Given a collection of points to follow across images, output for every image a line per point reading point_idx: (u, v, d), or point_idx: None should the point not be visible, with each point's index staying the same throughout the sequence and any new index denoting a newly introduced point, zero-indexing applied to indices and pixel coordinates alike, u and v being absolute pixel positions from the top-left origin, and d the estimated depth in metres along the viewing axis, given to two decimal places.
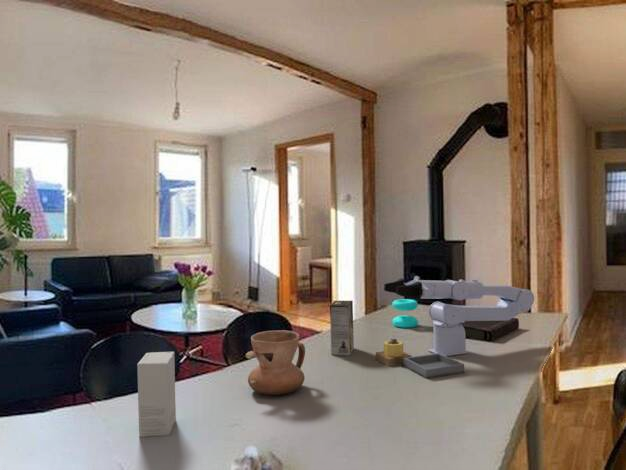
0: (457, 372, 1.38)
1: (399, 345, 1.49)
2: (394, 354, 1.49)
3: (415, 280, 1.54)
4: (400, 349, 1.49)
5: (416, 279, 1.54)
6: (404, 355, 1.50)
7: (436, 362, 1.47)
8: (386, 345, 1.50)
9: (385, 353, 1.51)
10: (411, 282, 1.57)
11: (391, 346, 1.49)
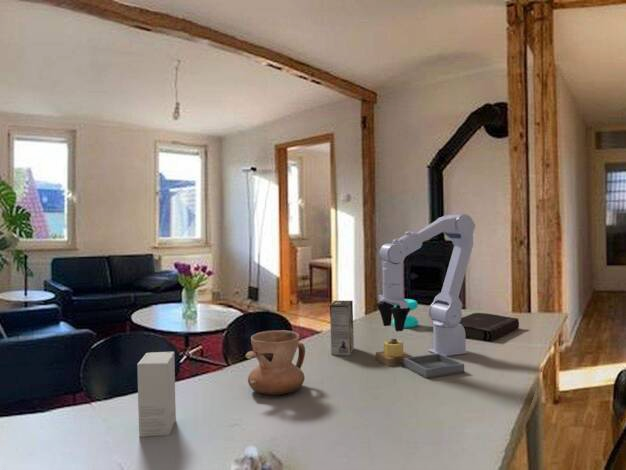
0: (457, 372, 1.38)
1: (399, 345, 1.49)
2: (394, 354, 1.49)
3: None
4: (400, 349, 1.49)
5: None
6: (404, 355, 1.50)
7: (436, 362, 1.47)
8: (386, 345, 1.50)
9: (385, 353, 1.51)
10: None
11: (391, 346, 1.49)
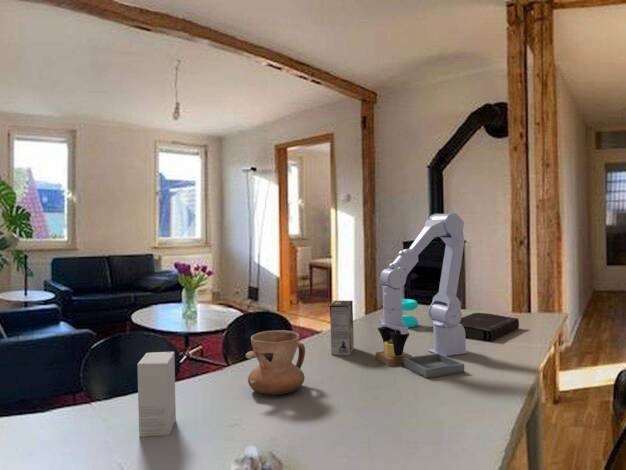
0: (457, 372, 1.38)
1: None
2: (394, 354, 1.49)
3: None
4: None
5: None
6: (404, 355, 1.50)
7: (436, 362, 1.47)
8: (386, 345, 1.50)
9: (385, 353, 1.51)
10: None
11: (391, 346, 1.49)
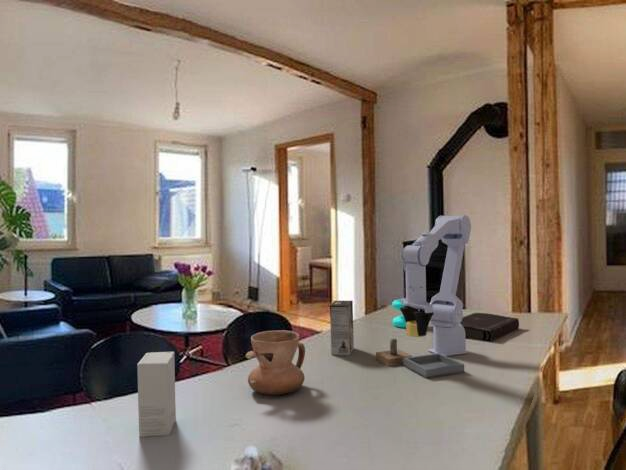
0: (457, 372, 1.38)
1: None
2: (417, 334, 1.43)
3: None
4: None
5: None
6: (404, 355, 1.50)
7: (436, 362, 1.47)
8: (409, 325, 1.44)
9: (407, 334, 1.45)
10: None
11: (414, 326, 1.43)
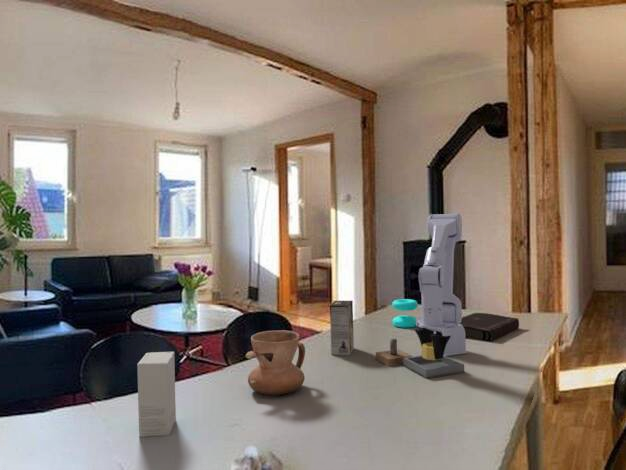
0: (457, 372, 1.38)
1: None
2: (434, 357, 1.39)
3: None
4: None
5: (423, 327, 1.40)
6: (404, 355, 1.50)
7: (436, 362, 1.47)
8: (425, 348, 1.41)
9: (423, 356, 1.41)
10: None
11: (430, 349, 1.39)
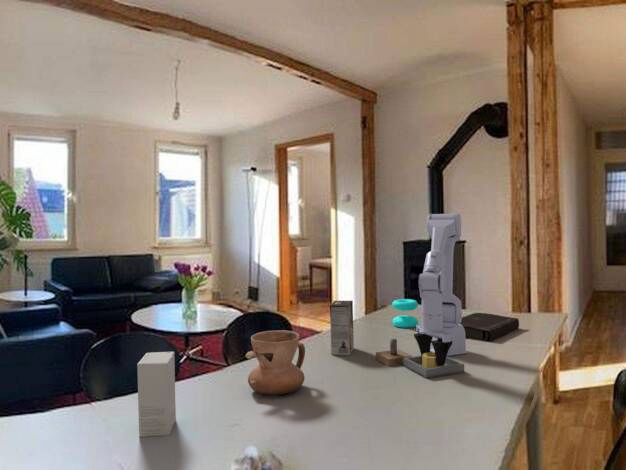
0: (457, 372, 1.38)
1: None
2: (434, 367, 1.39)
3: None
4: None
5: (423, 333, 1.40)
6: (404, 355, 1.50)
7: None
8: (425, 358, 1.41)
9: (423, 366, 1.42)
10: None
11: (431, 359, 1.40)
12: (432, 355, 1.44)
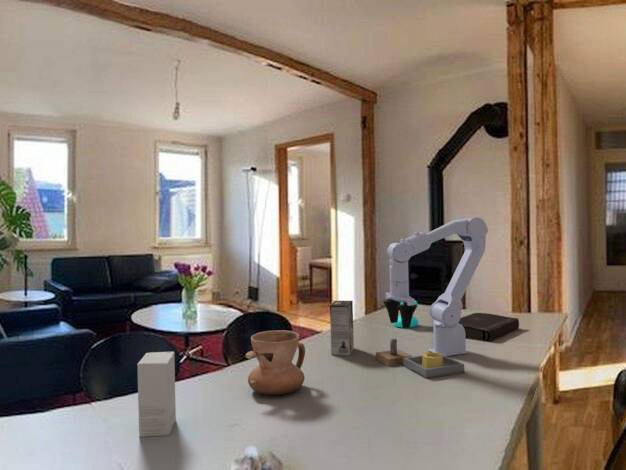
0: (457, 372, 1.38)
1: (439, 358, 1.40)
2: (434, 367, 1.39)
3: None
4: (440, 362, 1.40)
5: (391, 298, 1.54)
6: (404, 355, 1.50)
7: None
8: (425, 358, 1.41)
9: (423, 366, 1.42)
10: None
11: (431, 359, 1.40)
12: (432, 355, 1.44)
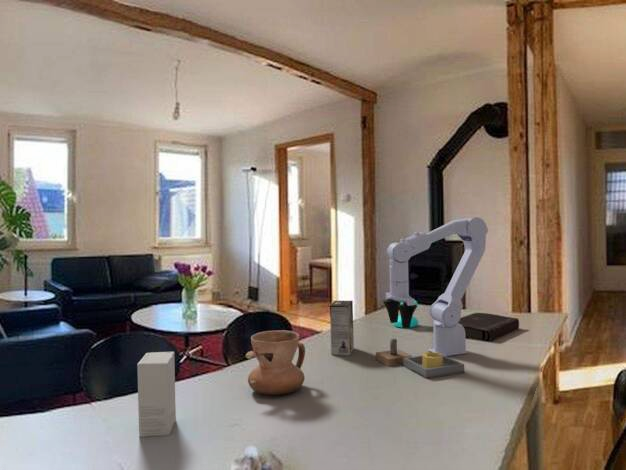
0: (457, 372, 1.38)
1: (439, 358, 1.40)
2: (434, 367, 1.39)
3: (391, 298, 1.54)
4: (440, 362, 1.40)
5: (391, 298, 1.54)
6: (404, 355, 1.50)
7: None
8: (425, 358, 1.41)
9: (423, 366, 1.42)
10: None
11: (431, 359, 1.40)
12: (432, 355, 1.44)
